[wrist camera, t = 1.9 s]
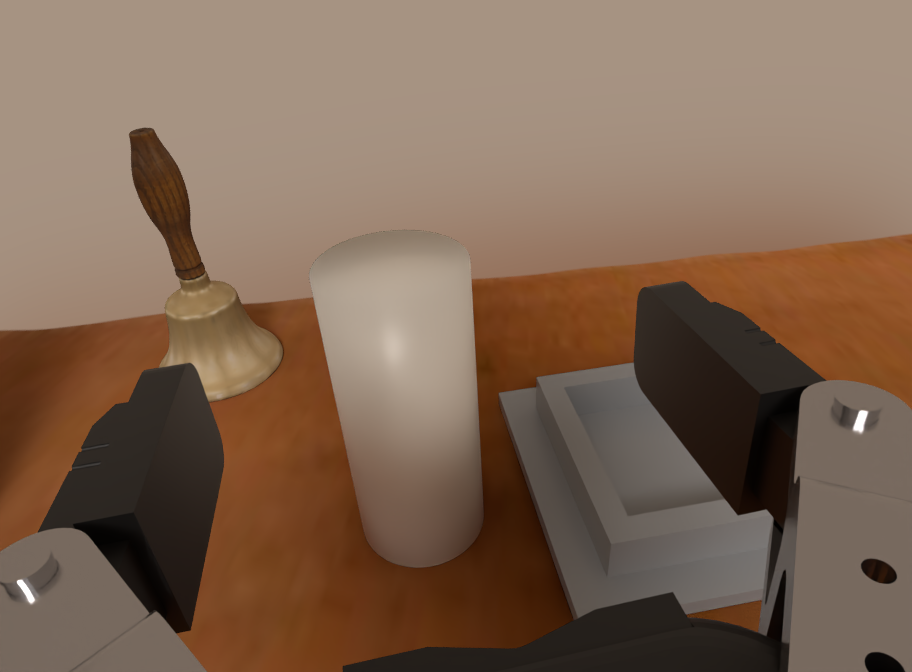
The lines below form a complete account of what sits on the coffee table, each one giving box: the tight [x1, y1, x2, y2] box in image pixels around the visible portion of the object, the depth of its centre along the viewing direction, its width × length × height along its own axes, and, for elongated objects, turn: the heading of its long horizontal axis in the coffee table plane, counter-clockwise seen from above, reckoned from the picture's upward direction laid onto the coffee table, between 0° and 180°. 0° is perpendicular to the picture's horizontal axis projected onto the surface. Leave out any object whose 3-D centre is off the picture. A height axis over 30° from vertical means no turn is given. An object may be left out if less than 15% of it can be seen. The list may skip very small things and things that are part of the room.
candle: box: [309, 230, 484, 568], centre depth 28 cm, size 6×6×14 cm
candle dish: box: [499, 363, 773, 620], centre depth 32 cm, size 15×15×3 cm
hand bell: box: [129, 128, 283, 402], centre depth 39 cm, size 8×8×16 cm
